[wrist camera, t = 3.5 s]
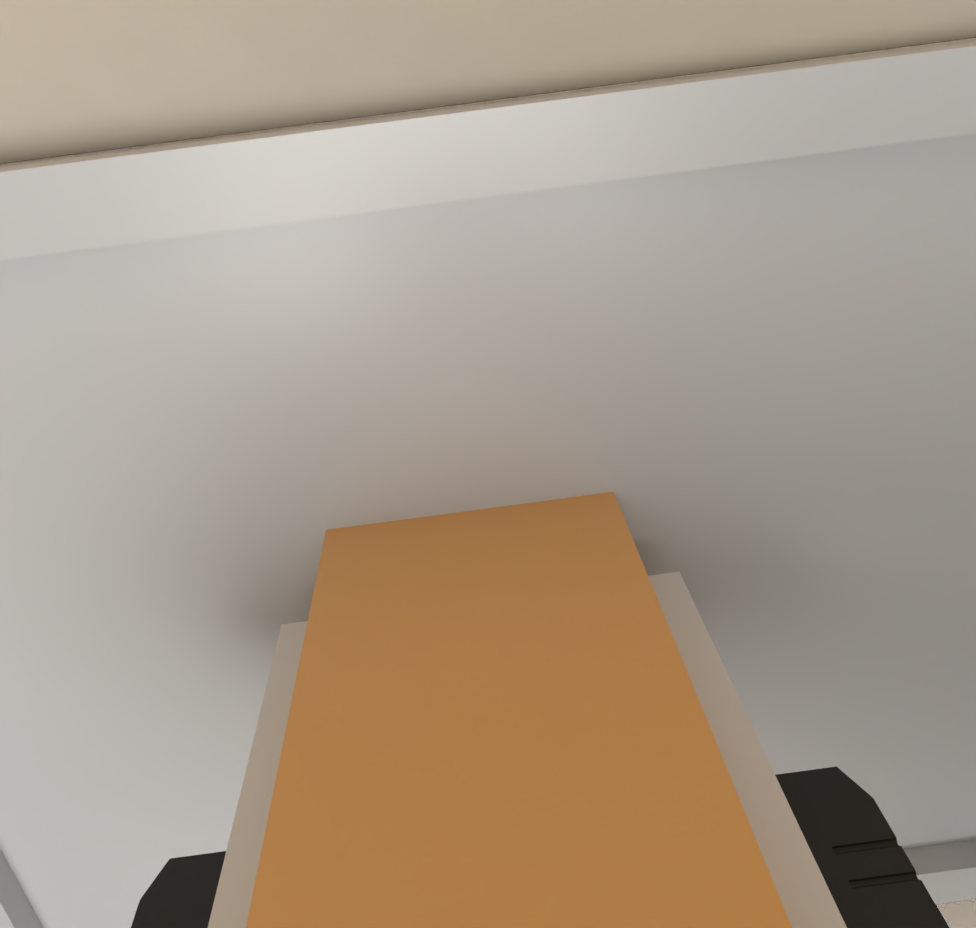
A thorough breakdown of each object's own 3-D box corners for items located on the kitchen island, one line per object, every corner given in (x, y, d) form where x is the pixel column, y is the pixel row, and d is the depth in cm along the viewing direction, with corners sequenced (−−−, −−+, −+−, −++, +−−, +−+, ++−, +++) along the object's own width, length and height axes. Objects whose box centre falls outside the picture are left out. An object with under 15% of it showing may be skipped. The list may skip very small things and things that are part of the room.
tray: (1205, 8, 11) (1286, 5, 10) (1008, 840, 19) (1043, 889, 17) (-386, 214, 11) (-473, 232, 10) (42, 971, 18) (19, 1029, 17)
